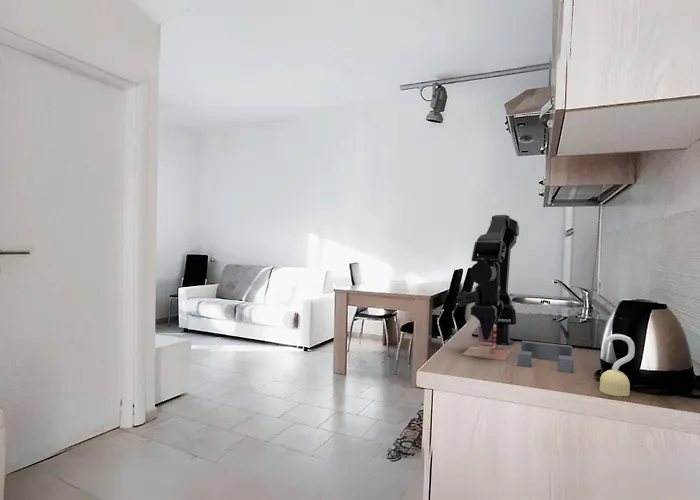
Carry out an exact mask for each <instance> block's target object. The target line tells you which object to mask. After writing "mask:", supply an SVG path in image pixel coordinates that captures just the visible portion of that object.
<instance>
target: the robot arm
mask: <svg viewBox="0 0 700 500" xmlns="http://www.w3.org/2000/svg"><path fill="white" fill-rule="evenodd" d="M519 236H520V226H519V223H518V220H515V219H513V218H511V216H510V215H508V214H494V215H492V216H491V221H490V225H489V227H488V229H487V230H486V233H484V234H481V235H480V236H479V237H478V238H477V239H476V241H475V242H474V247H473V250H472V255H471V262H476V263H475V264H473V265H472V266H471V268H470V270H469V277H470V279H471V280H472V282H474V283H475V284H477V285H476V286H475V288H474V289H475V290H473V291H470V292H468V291H466V290H463V291H459V292H458V295H457V296H456V302H457V303H458V305H459V307H460V308H462V307H465V306H466V305H469V304H473V303H474V304H473V305H472V306H471V307H470V315H471V316H473V317H475V318H476V319H477V320H478V322H479V323H480V325H481V329H482V334H483V338H484V340H488V338H489V336H490V333H491V331H492V329H493V326H494V324H495V325H496V344H499V345H500V344H501V345H510V344H511V343H512V339H510V325H512V326H513V325H517V311H516V309H515V307H514V304H513V300H512V299H511V297H510V294H509V292H508V291H509V278H510V265H511V264H510V263H511V253H512V252H511V249H512V248H513V247H514V246H515V245H516V243H517V238H518V237H519Z"/></svg>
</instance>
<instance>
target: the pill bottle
mask: <svg viewBox="0 0 700 500" xmlns="http://www.w3.org/2000/svg"><path fill="white" fill-rule="evenodd" d="M477 331H478V335H477V337H478V338H477V339H478V340H477V341H478V343H477V347H480V348H488V349H496V347H497V343H496V325H495V324H494V326H493V329H492V331H491V333H490V336H489V338H488V340H484V338H483V334H482V329H481V325H480V322H479V323H478V330H477Z"/></svg>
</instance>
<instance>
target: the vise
mask: <svg viewBox="0 0 700 500" xmlns="http://www.w3.org/2000/svg"><path fill="white" fill-rule="evenodd" d="M572 350H573V346H572V345H565V344H557V343H548V342H539V341H537V342H536V341H530V340H529V341H528V340H522V341H521V350H519V351H518V353H517V366H519V367H526V368H531V367H532V364H533V362H532V361H533V359H538V360H539V359H540V360H548V361H555V362H556V361H557V362H558V371H559V372H564V373H573V362H574V361H573V353H572V352H573V351H572Z"/></svg>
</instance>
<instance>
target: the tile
mask: <svg viewBox="0 0 700 500" xmlns="http://www.w3.org/2000/svg"><path fill="white" fill-rule="evenodd" d="M510 353H511V351H510V350H505V349H504V350H503V349H497V348H492V349H488V348H481V347H479V346H472V345H471V346H469V347H468V348H467V349H466V350H465V351H464V352H463V353H462V356H466V357H472V358H473V357H475V358H480V359H490V360H496V361H503V362H504V361H507V359H508V357H509V355H510Z"/></svg>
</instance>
